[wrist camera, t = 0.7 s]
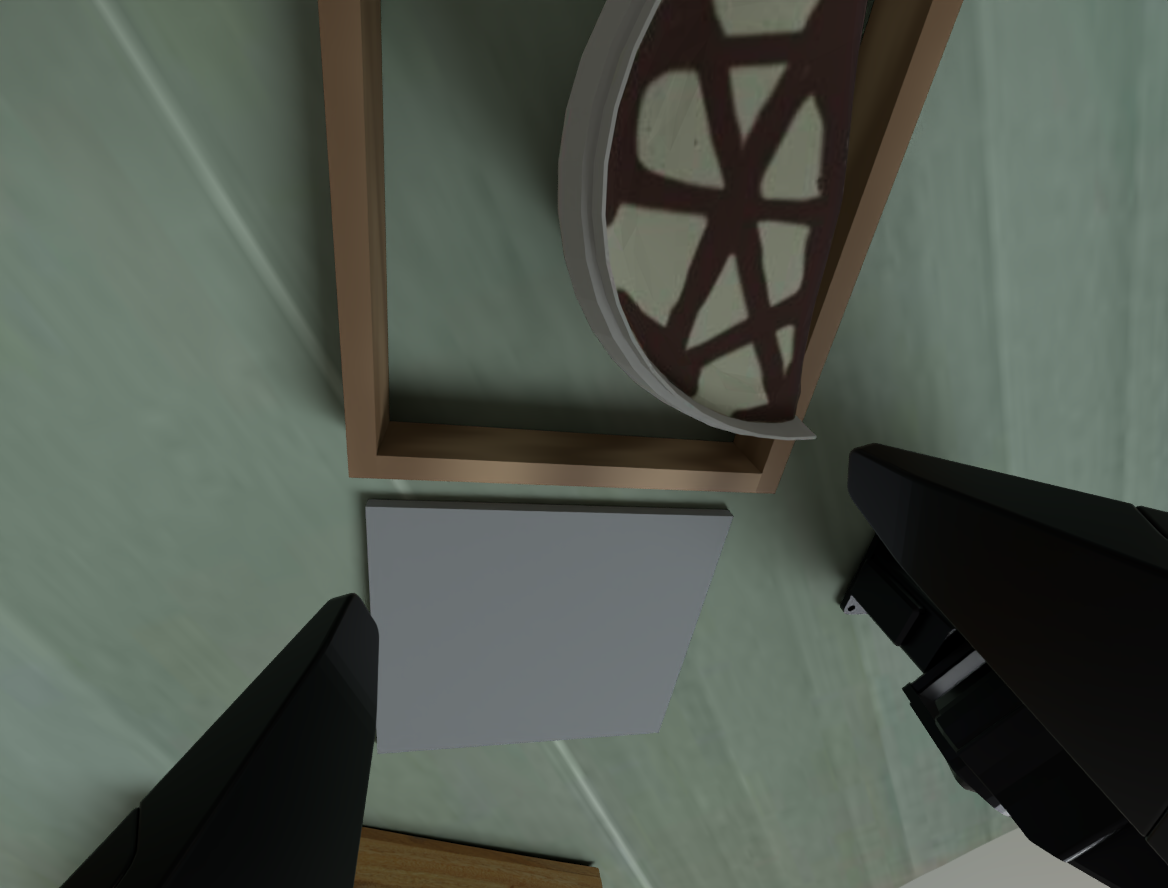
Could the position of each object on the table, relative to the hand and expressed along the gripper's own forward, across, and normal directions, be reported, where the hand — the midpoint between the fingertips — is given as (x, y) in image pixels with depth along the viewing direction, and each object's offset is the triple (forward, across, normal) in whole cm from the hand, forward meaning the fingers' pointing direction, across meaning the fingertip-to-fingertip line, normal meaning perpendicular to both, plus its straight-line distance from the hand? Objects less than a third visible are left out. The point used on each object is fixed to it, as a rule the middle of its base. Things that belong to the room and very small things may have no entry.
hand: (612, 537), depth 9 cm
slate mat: (+14, +4, +17) cm, 22 cm away
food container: (+14, -4, -4) cm, 15 cm away
